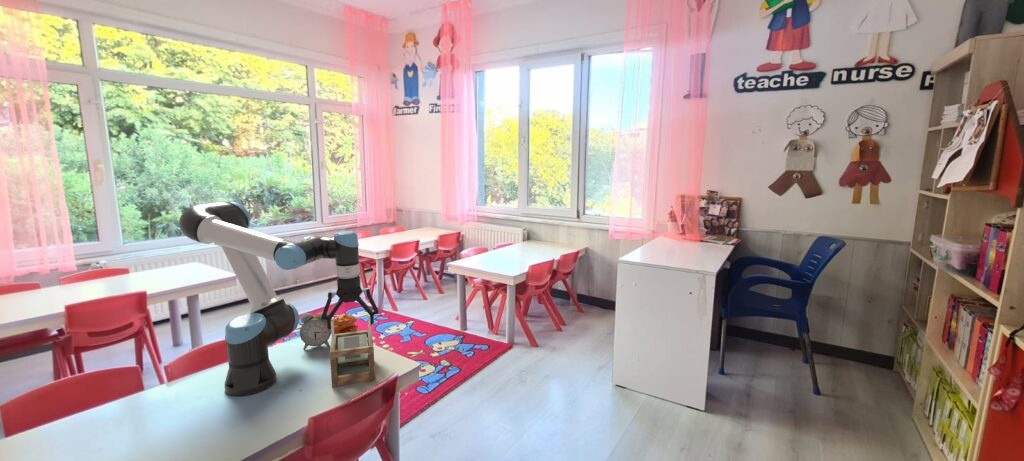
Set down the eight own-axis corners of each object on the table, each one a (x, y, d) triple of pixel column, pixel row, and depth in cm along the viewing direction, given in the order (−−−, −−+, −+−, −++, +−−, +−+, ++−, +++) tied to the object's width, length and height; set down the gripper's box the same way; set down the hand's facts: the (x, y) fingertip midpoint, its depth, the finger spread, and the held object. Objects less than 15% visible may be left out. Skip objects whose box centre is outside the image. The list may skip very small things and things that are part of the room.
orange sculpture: (354, 363, 162) (351, 318, 159) (325, 362, 162) (322, 317, 159) (364, 350, 173) (362, 307, 170) (338, 349, 173) (335, 307, 170)
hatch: (337, 363, 151) (337, 362, 150) (337, 338, 157) (337, 336, 157) (368, 359, 154) (368, 357, 153) (367, 334, 161) (366, 333, 160)
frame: (331, 387, 145) (329, 352, 143) (334, 365, 160) (331, 334, 158) (375, 380, 150) (373, 346, 148) (373, 360, 165) (371, 329, 163)
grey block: (344, 346, 155) (343, 337, 150) (359, 345, 156) (359, 335, 152) (345, 359, 151) (344, 350, 147) (360, 357, 153) (359, 348, 149)
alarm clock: (300, 351, 171) (297, 316, 169) (304, 344, 178) (301, 310, 175) (331, 348, 174) (329, 313, 172) (334, 342, 181) (332, 308, 178)
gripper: (309, 281, 141) (314, 343, 144) (384, 275, 149) (387, 334, 153) (311, 276, 148) (315, 335, 151) (383, 270, 156) (385, 326, 159)
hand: (351, 335), depth 152 cm, fingers open, 11 cm apart
